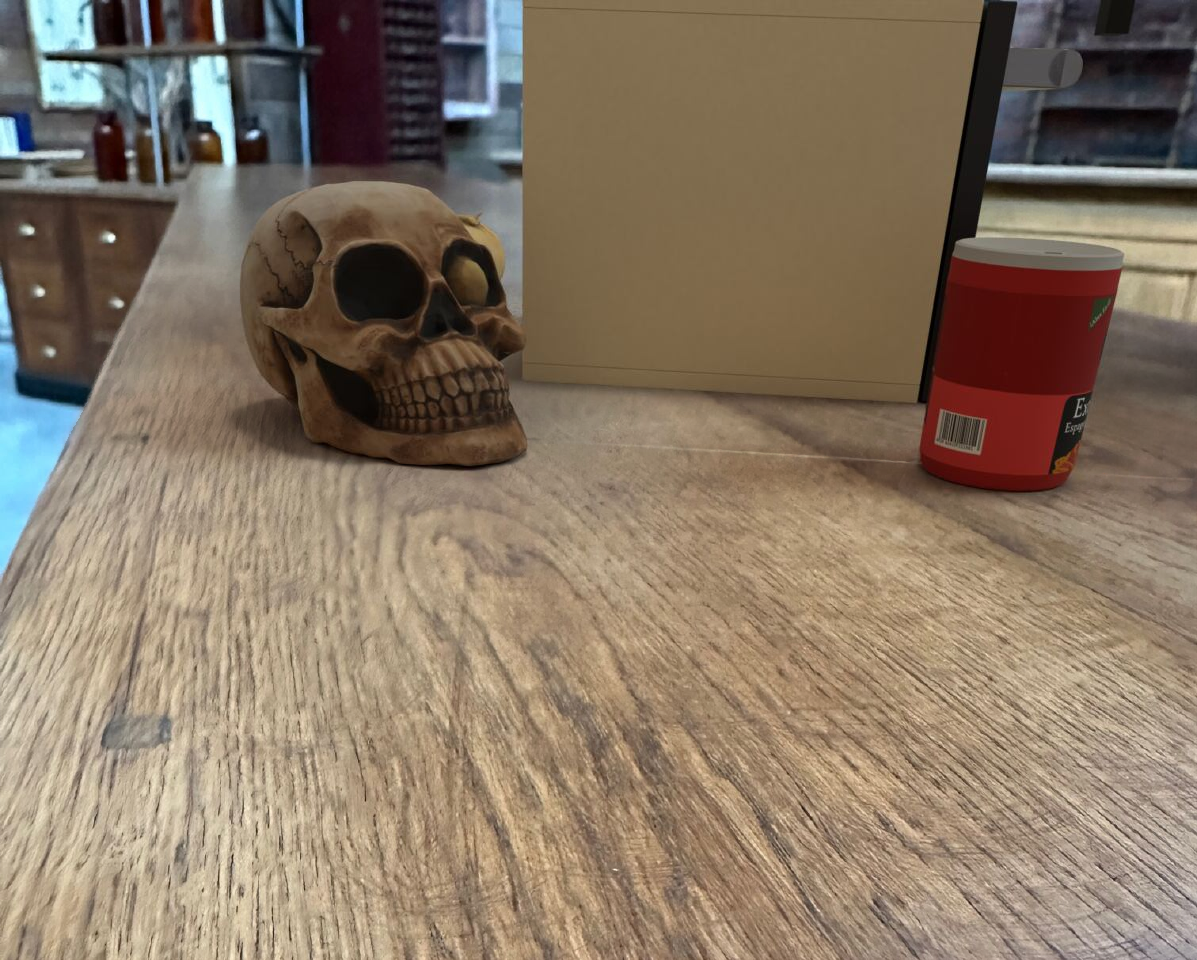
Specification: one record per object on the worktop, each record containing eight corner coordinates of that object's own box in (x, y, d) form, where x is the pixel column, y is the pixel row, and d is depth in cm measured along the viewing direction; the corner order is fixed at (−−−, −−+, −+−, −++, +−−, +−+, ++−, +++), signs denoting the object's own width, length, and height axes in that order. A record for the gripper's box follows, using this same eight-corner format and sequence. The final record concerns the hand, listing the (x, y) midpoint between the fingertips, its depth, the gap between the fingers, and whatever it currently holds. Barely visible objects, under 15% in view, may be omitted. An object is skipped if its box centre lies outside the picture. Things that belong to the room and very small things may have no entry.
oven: (875, 332, 100) (920, 25, 89) (916, 404, 77) (985, -4, 65) (574, 316, 102) (580, 14, 91) (522, 381, 78) (522, -18, 67)
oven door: (957, 335, 100) (1011, 30, 89) (1024, 408, 76) (1110, 4, 65) (879, 331, 100) (923, 27, 89) (921, 402, 76) (988, 0, 65)
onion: (407, 294, 111) (404, 210, 107) (444, 284, 117) (441, 204, 113) (486, 301, 108) (485, 215, 105) (518, 290, 115) (518, 209, 111)
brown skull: (506, 469, 59) (476, 168, 53) (194, 477, 63) (132, 195, 56) (574, 413, 73) (556, 168, 66) (314, 422, 76) (274, 190, 70)
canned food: (1084, 498, 59) (1143, 258, 53) (921, 486, 60) (963, 249, 54) (1057, 459, 65) (1107, 242, 60) (911, 448, 66) (947, 234, 61)
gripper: (1110, -503, 62) (1020, 29, 74) (1368, -508, 61) (1235, 33, 73) (1075, -446, 69) (998, 36, 81) (1308, -449, 68) (1194, 39, 80)
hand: (1111, 34), depth 77 cm, fingers closed
